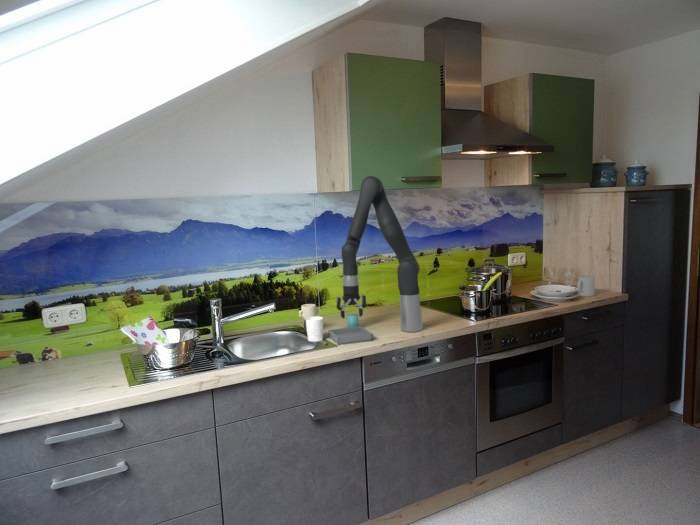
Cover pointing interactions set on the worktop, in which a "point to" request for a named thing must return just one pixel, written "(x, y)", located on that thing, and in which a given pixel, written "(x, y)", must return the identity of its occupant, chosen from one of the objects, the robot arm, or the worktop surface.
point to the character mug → (308, 312)
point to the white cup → (314, 328)
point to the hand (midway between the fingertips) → (351, 317)
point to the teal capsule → (352, 320)
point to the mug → (586, 285)
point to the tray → (350, 335)
